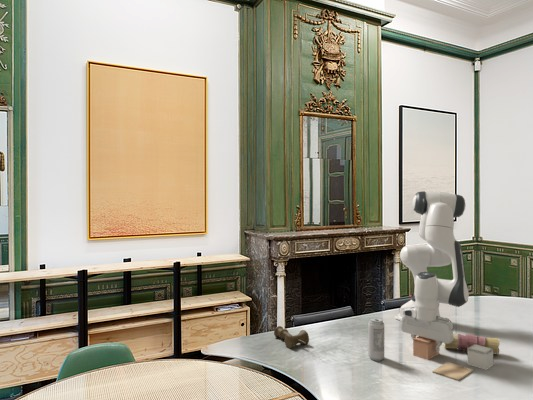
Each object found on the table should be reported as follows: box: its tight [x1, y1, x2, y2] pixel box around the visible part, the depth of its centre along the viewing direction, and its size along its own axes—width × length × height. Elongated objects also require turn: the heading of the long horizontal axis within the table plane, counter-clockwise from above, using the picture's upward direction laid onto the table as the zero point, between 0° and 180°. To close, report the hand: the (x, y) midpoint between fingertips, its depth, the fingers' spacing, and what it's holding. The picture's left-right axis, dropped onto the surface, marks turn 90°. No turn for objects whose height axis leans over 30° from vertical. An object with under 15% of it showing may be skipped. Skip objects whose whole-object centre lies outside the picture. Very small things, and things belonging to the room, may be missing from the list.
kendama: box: [273, 325, 310, 350], centre depth 170 cm, size 6×10×20 cm
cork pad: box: [432, 361, 474, 382], centre depth 141 cm, size 9×12×1 cm
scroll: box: [443, 333, 501, 355], centre depth 160 cm, size 8×8×20 cm
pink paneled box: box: [412, 336, 440, 361], centre depth 156 cm, size 6×9×6 cm, turn 131°
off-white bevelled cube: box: [467, 344, 494, 370], centre depth 147 cm, size 6×6×6 cm
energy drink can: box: [367, 317, 385, 362], centre depth 153 cm, size 6×6×15 cm
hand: (426, 348), depth 156 cm, fingers open, 7 cm apart
